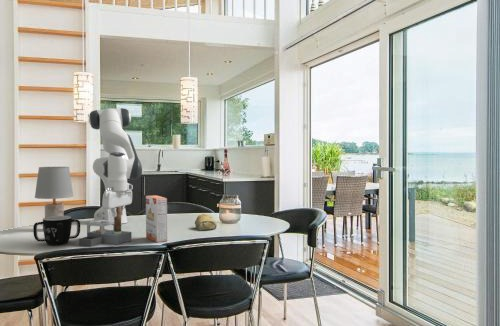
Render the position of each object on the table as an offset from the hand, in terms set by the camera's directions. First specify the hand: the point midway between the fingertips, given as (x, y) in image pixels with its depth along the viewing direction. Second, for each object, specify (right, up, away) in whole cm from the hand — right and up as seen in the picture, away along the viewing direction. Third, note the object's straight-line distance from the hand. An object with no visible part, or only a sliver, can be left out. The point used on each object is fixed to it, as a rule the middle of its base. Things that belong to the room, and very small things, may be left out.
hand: (117, 216), depth 201 cm
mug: (-26, -12, -5) cm, 29 cm away
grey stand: (-5, -12, +2) cm, 13 cm away
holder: (-10, -12, -6) cm, 17 cm away
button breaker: (-9, -11, +4) cm, 15 cm away
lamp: (-43, -11, +29) cm, 53 cm away
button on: (0, -12, 0) cm, 12 cm away
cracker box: (+17, -12, +5) cm, 22 cm away
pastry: (+38, -12, +36) cm, 53 cm away
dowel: (0, -7, 0) cm, 7 cm away
